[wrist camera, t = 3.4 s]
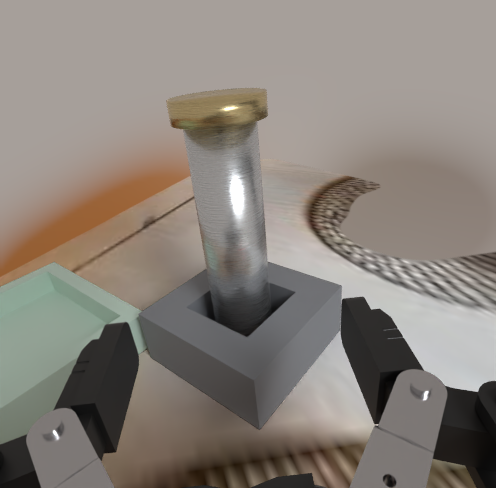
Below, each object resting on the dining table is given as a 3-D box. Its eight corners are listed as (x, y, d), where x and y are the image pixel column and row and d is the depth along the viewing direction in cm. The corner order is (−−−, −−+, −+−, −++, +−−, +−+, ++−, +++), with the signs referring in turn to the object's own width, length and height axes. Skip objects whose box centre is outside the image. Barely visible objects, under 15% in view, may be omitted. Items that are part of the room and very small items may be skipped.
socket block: (238, 289, 33) (233, 250, 32) (340, 329, 28) (341, 285, 26) (150, 357, 27) (138, 314, 25) (259, 429, 21) (253, 380, 19)
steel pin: (242, 312, 30) (214, 88, 22) (295, 336, 27) (286, 87, 19) (197, 350, 27) (145, 102, 19) (252, 382, 24) (219, 103, 16)
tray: (64, 288, 36) (53, 261, 35) (153, 343, 28) (144, 312, 27) (-118, 382, 27) (-142, 352, 26) (-65, 506, 19) (-96, 472, 17)
